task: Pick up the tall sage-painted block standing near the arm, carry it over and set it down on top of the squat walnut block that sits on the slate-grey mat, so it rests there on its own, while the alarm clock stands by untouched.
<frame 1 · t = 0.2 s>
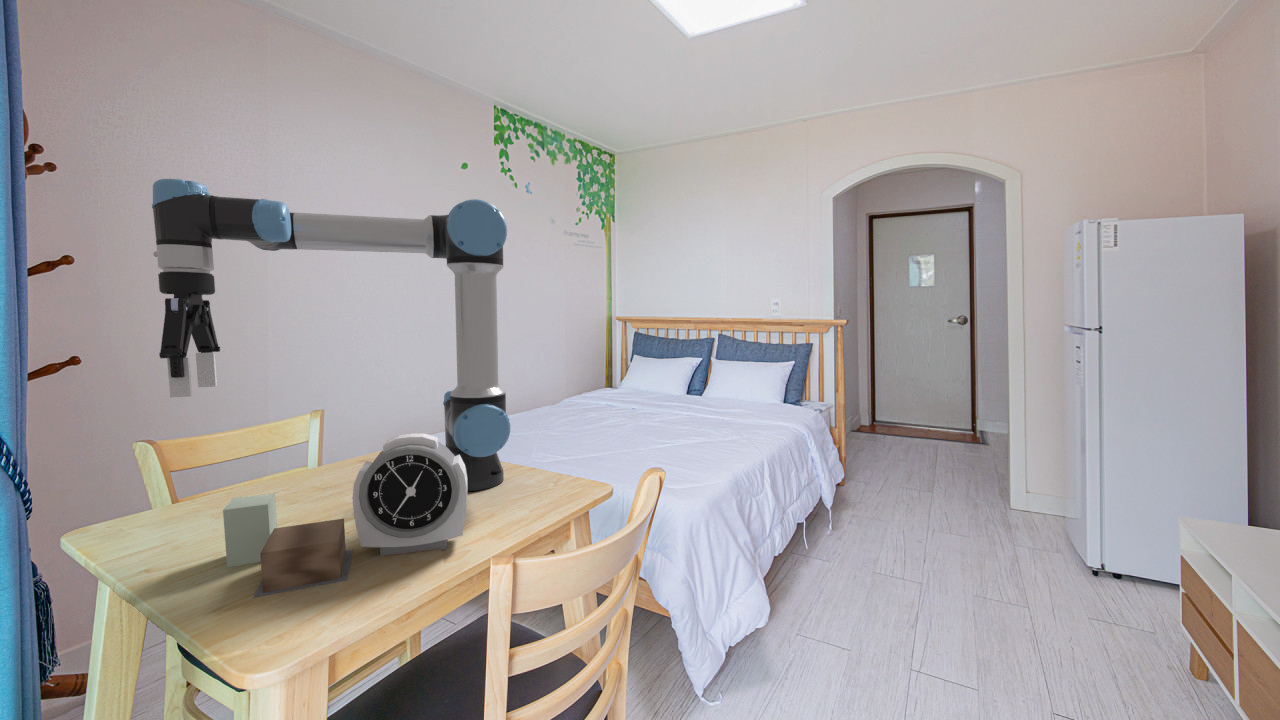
hand: (195, 391, 96), 27 cm above the table, fingers open, 13 cm apart
sage block: (254, 558, 90), on the table
walnut block: (307, 570, 85), resting on slate mat
alarm clock: (415, 548, 94), on the table
slate mat: (307, 573, 85), on the table
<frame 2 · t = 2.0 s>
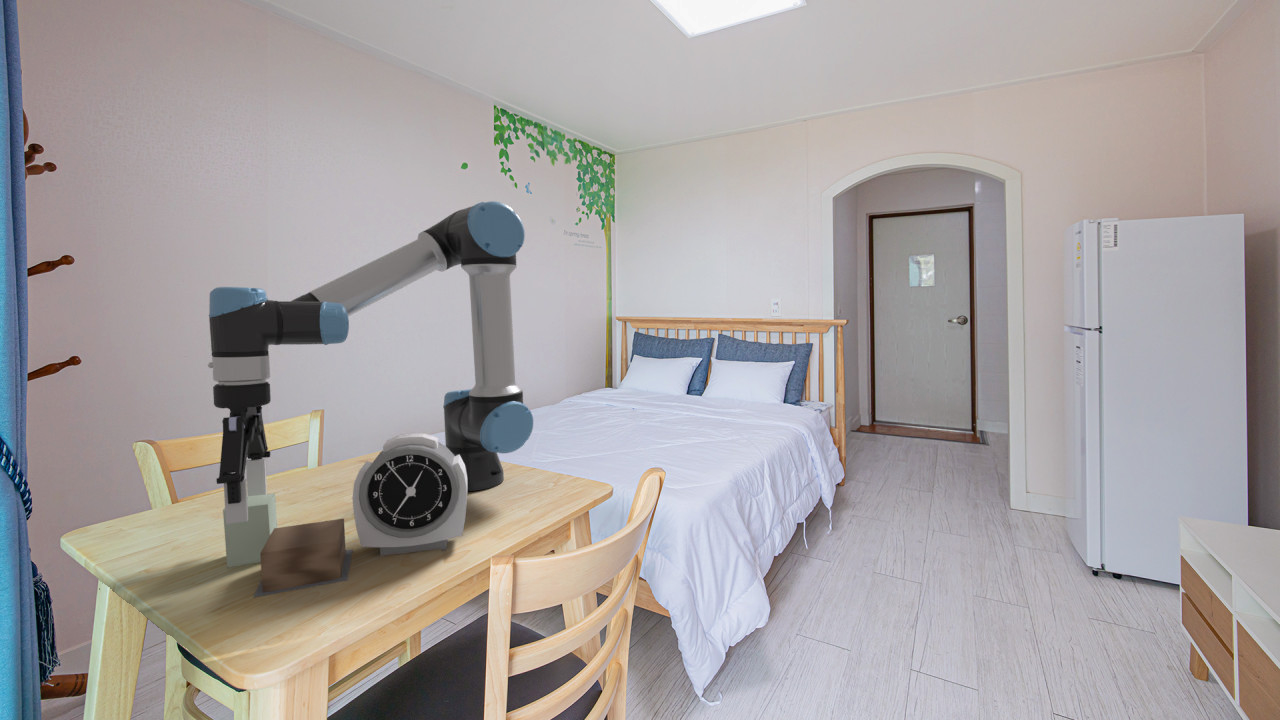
hand: (247, 508, 89), 9 cm above the table, fingers open, 13 cm apart
nothing on the table moved.
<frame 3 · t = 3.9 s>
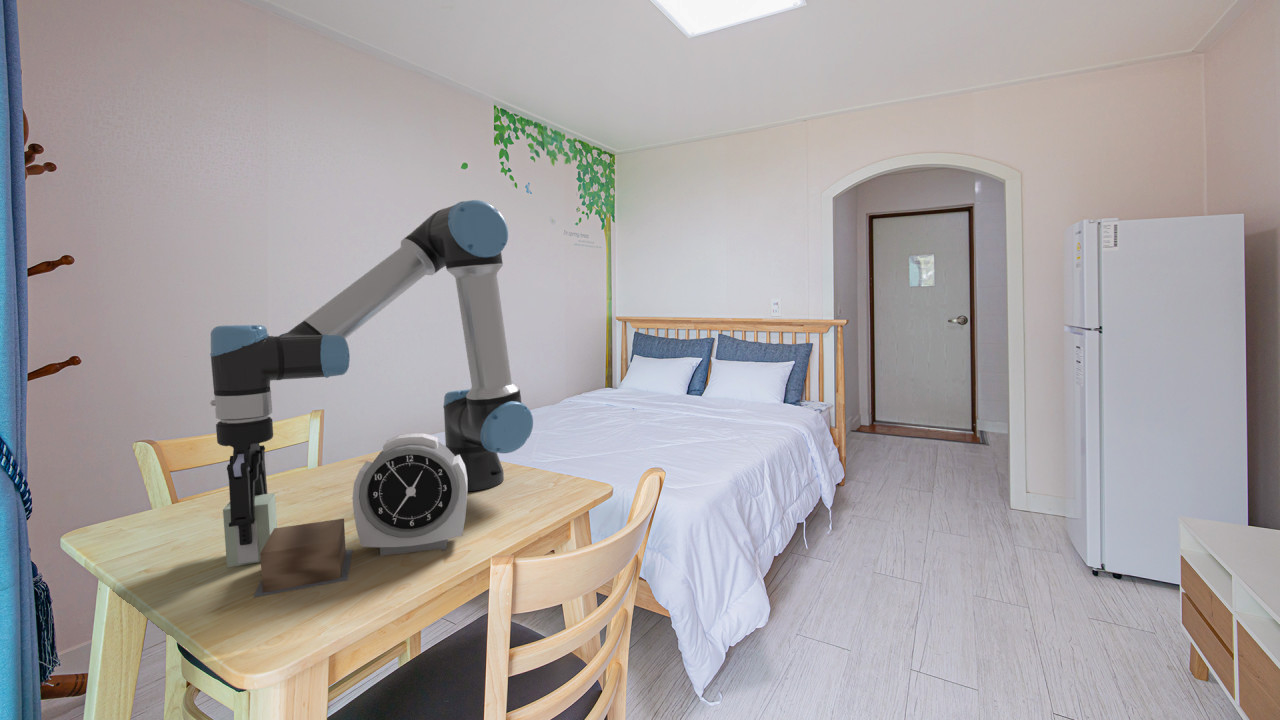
hand: (253, 553, 90), 1 cm above the table, fingers closed on sage block, 6 cm apart
sage block: (254, 558, 90), on the table, touching gripper
everything else where it was.
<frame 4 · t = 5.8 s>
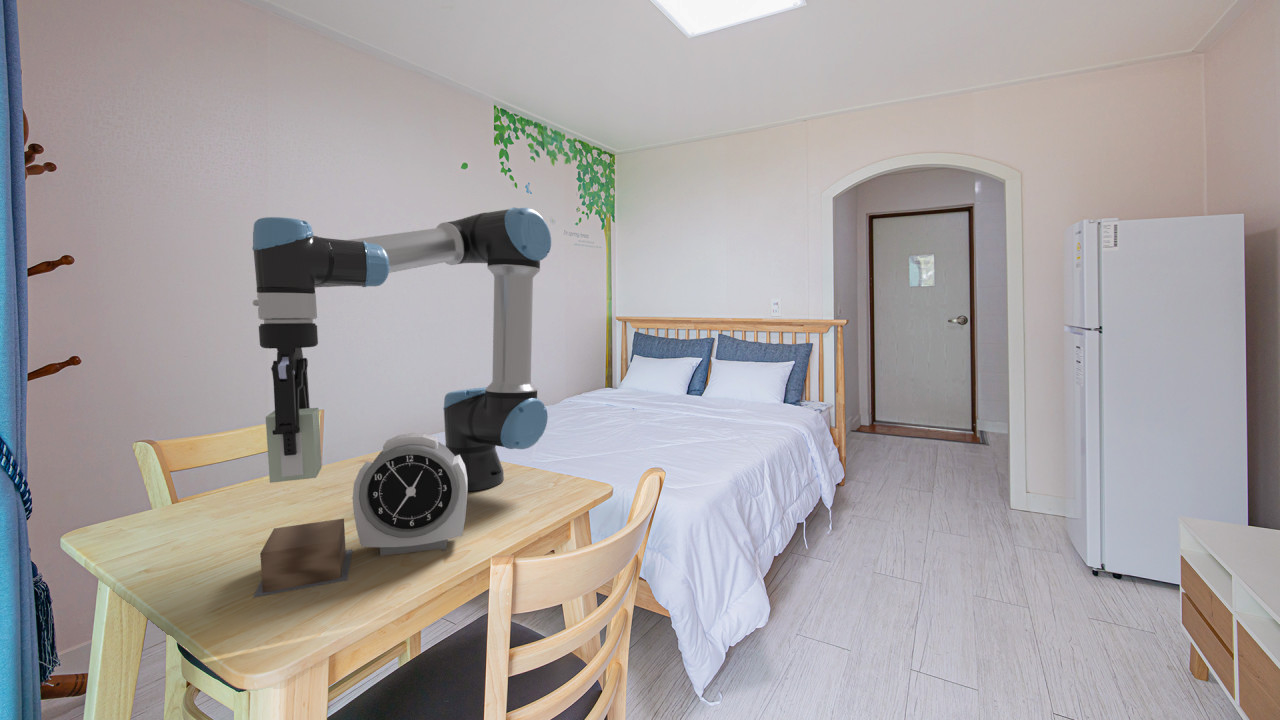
hand: (297, 468, 84), 17 cm above the table, fingers closed on sage block, 6 cm apart
sage block: (296, 474, 84), point 16 cm above the table, touching gripper
everything else where it was.
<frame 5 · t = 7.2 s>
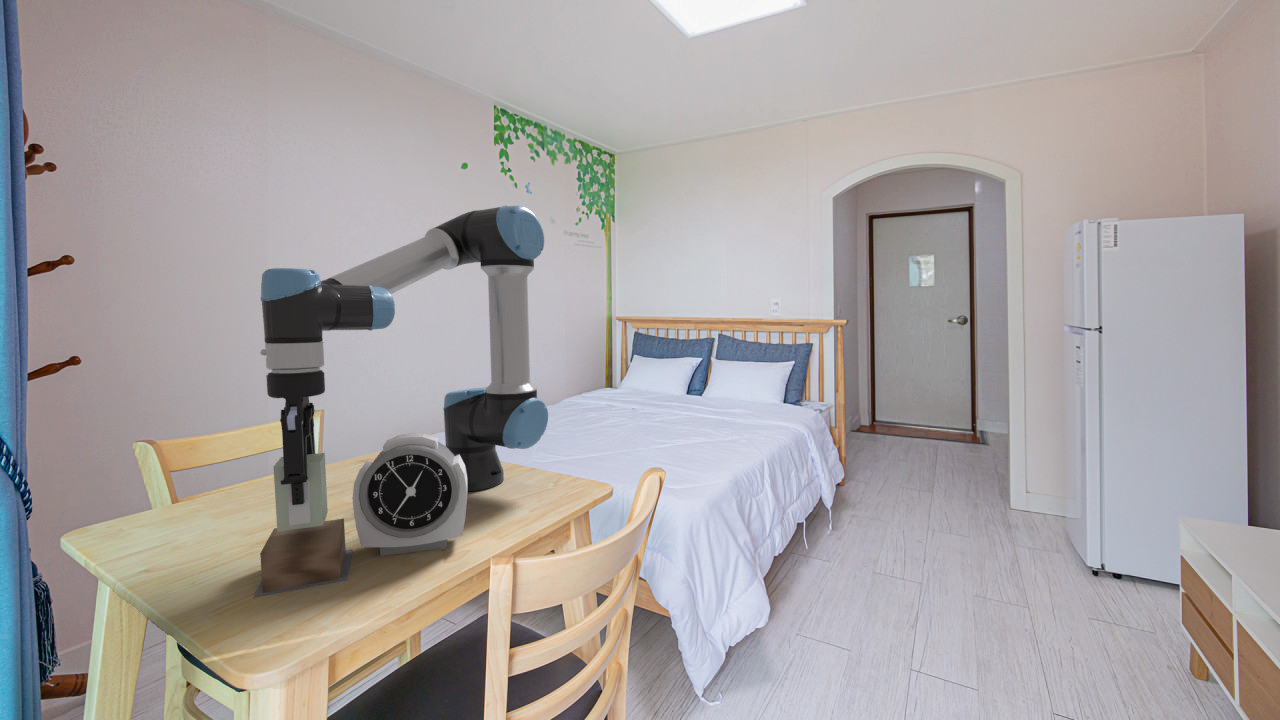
hand: (303, 515, 84), 9 cm above the table, fingers closed on sage block, 6 cm apart
sage block: (303, 521, 84), point 9 cm above the table, touching gripper
everything else where it was.
when the fingers open (9 cm above the table, at t = 8.0 s): sage block drops 1 cm, resting on walnut block.
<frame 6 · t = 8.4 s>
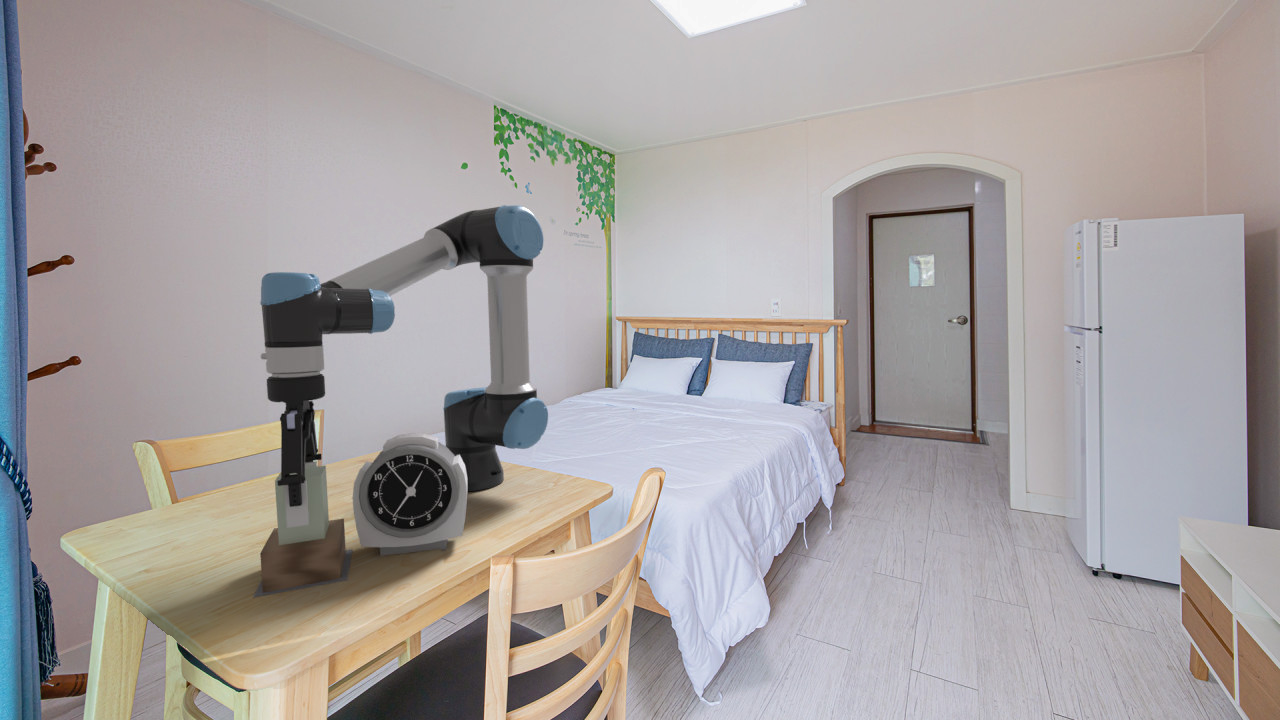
hand: (304, 512, 84), 10 cm above the table, fingers open, 11 cm apart
sage block: (305, 534, 84), point 6 cm above the table, touching walnut block
walnut block: (307, 570, 85), resting on slate mat, touching sage block
everything else where it was.
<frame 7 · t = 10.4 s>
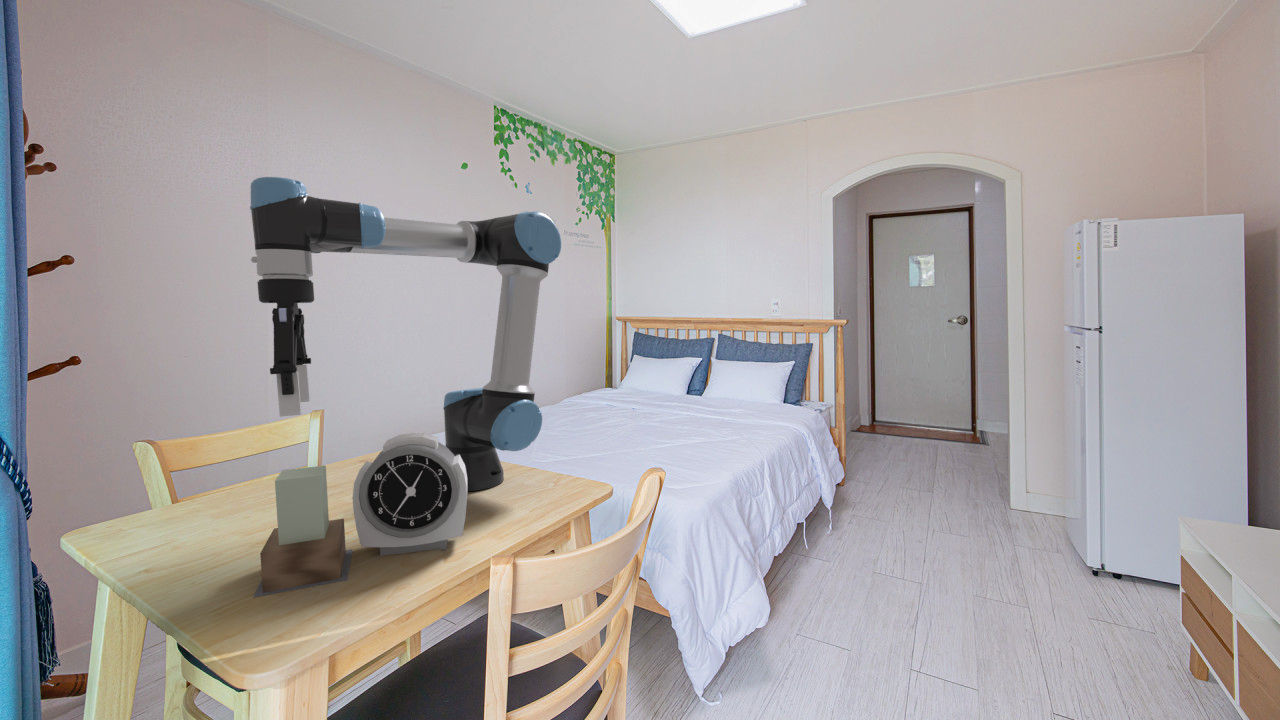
hand: (295, 408, 88), 26 cm above the table, fingers open, 13 cm apart
nothing on the table moved.
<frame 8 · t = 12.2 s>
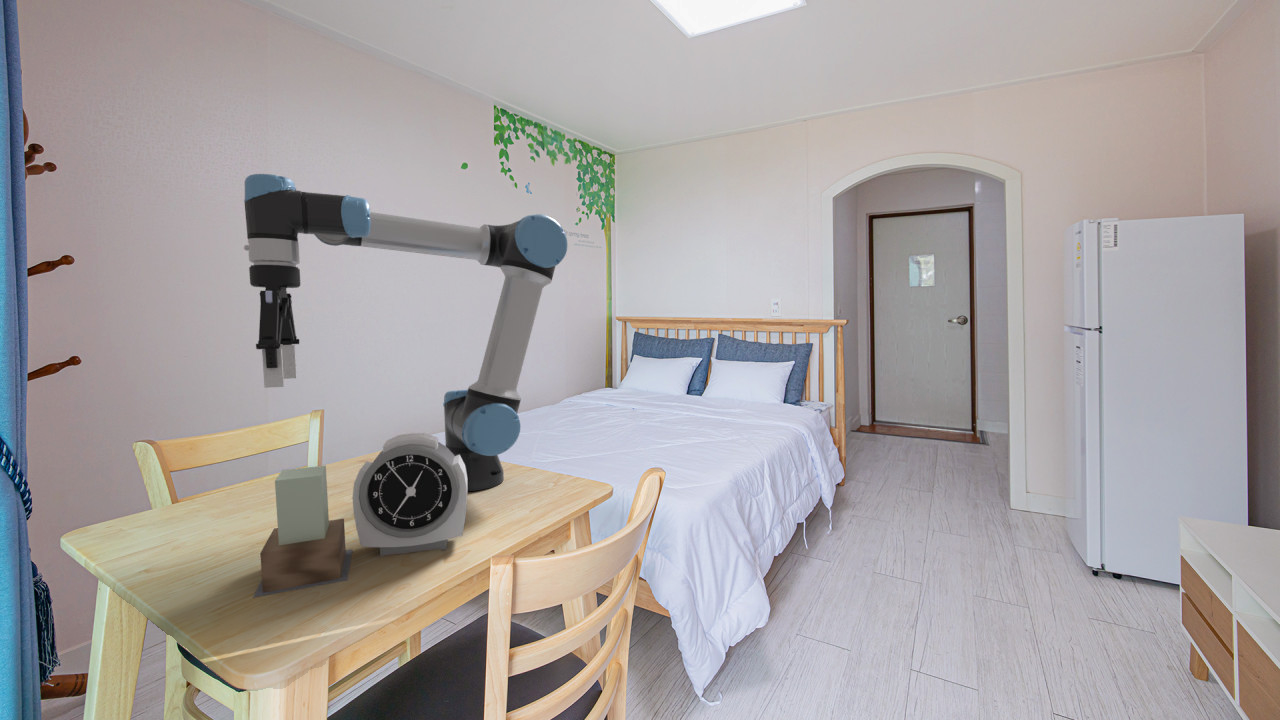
hand: (281, 382, 98), 29 cm above the table, fingers open, 13 cm apart
nothing on the table moved.
at the end: sage block inside the target area on the walnut block (0.0 cm from its centre), point 6.0 cm above the walnut block's base; sage block tilted 0°; the gripper is holding nothing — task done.
